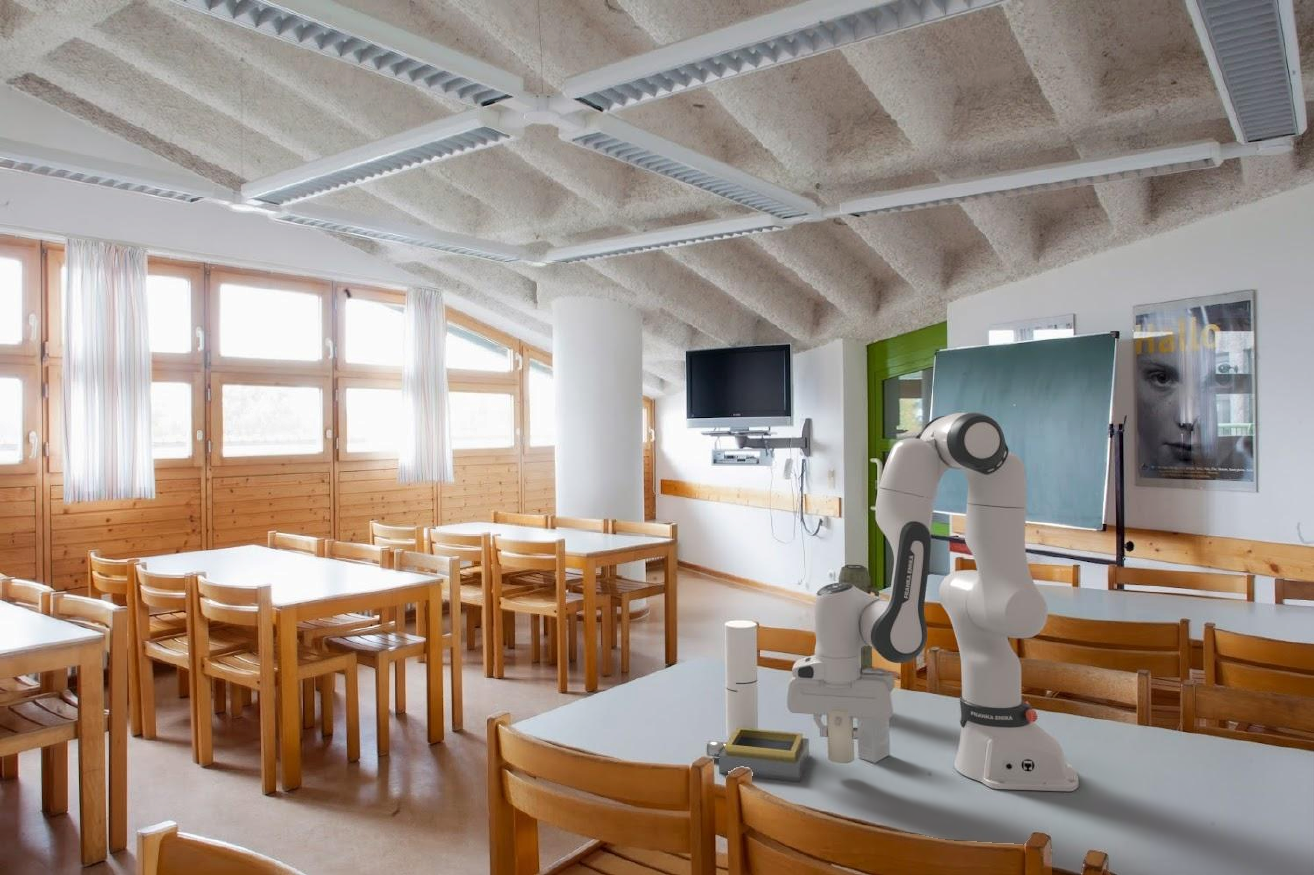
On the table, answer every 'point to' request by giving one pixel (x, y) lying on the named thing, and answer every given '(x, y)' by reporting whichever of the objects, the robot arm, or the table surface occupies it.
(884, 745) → the skincare box
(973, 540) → the robot arm
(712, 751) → the box
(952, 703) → the table surface
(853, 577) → the thermos
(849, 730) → the spout can
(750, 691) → the cylindrical container
